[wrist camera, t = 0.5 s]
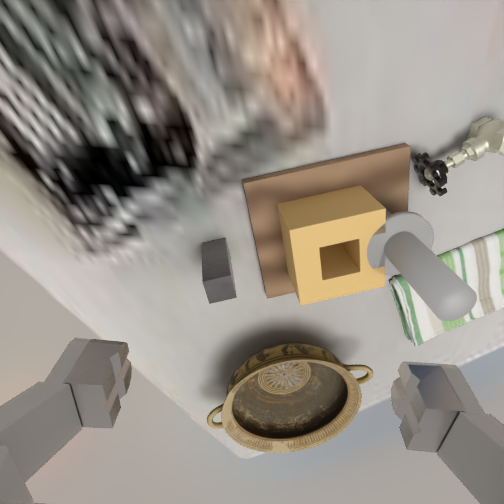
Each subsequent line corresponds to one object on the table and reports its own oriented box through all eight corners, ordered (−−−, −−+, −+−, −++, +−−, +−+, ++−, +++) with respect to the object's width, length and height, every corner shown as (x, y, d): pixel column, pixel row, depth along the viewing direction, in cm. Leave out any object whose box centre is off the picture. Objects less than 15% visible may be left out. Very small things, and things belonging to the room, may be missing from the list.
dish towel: (385, 275, 63) (395, 287, 60) (518, 217, 60) (535, 227, 57) (405, 338, 72) (415, 352, 69) (522, 290, 69) (537, 302, 66)
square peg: (201, 242, 54) (202, 281, 46) (225, 237, 55) (230, 275, 46) (207, 262, 56) (209, 303, 48) (230, 257, 56) (236, 297, 48)
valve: (489, 100, 49) (407, 149, 51) (527, 109, 44) (433, 164, 46) (498, 142, 53) (420, 187, 55) (534, 155, 47) (446, 204, 49)
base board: (242, 179, 50) (243, 183, 49) (405, 143, 51) (410, 146, 49) (265, 293, 61) (267, 298, 59) (400, 262, 61) (405, 266, 60)
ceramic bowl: (347, 295, 63) (370, 335, 55) (364, 381, 76) (386, 425, 67) (182, 347, 65) (180, 395, 56) (226, 423, 77) (230, 472, 69)
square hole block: (277, 204, 51) (317, 289, 34) (405, 175, 51) (509, 245, 34) (288, 273, 57) (326, 374, 40) (402, 247, 58) (489, 336, 41)
